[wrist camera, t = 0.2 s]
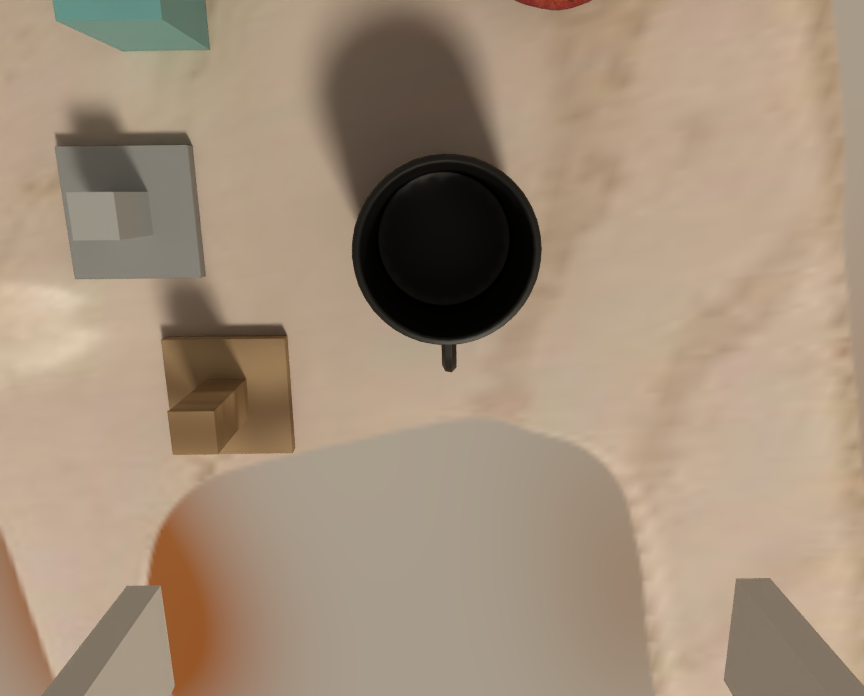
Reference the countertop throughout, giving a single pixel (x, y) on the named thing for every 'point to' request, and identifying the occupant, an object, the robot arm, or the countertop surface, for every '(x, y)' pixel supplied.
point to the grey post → (131, 211)
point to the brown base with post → (229, 394)
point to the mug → (446, 250)
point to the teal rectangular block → (138, 23)
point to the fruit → (553, 3)
